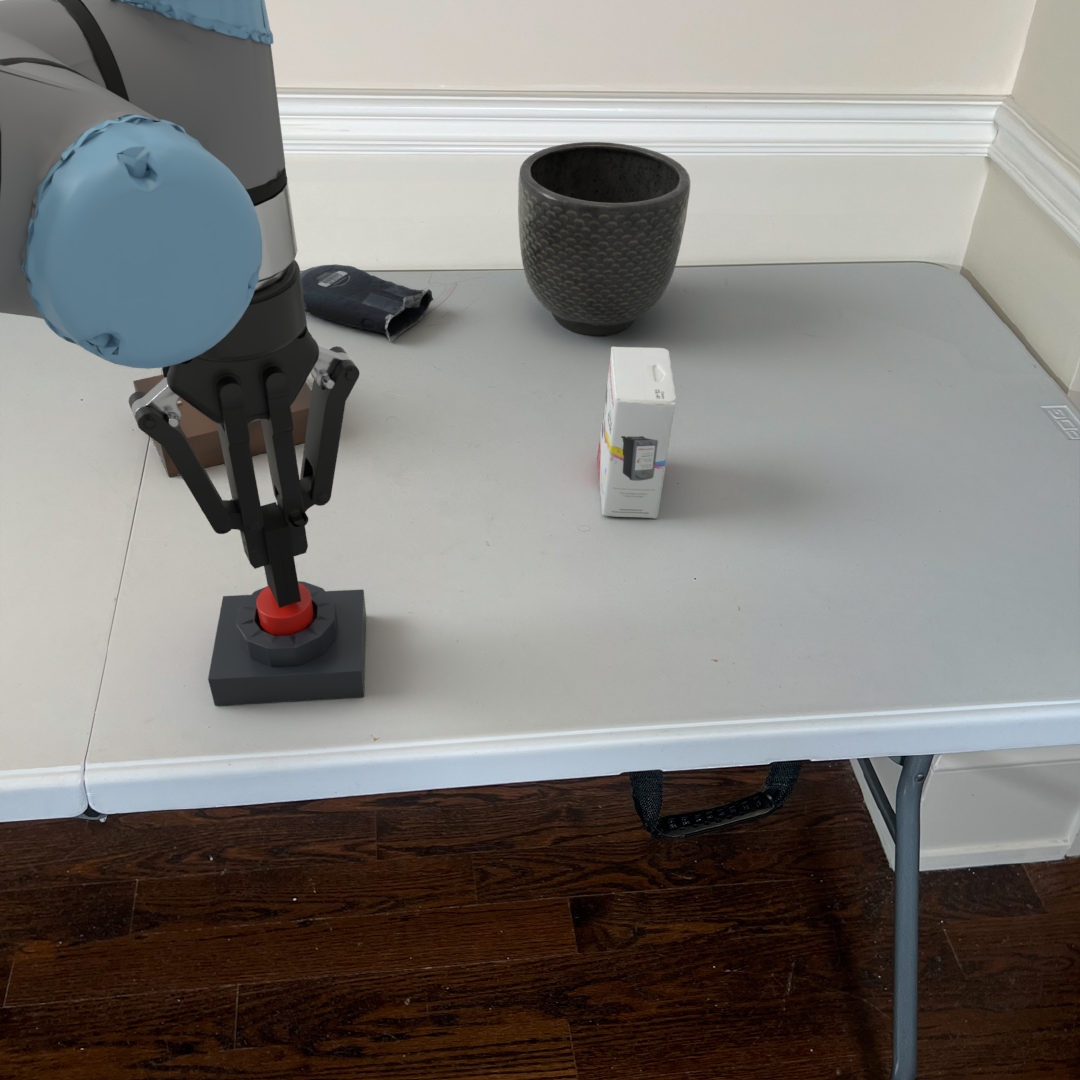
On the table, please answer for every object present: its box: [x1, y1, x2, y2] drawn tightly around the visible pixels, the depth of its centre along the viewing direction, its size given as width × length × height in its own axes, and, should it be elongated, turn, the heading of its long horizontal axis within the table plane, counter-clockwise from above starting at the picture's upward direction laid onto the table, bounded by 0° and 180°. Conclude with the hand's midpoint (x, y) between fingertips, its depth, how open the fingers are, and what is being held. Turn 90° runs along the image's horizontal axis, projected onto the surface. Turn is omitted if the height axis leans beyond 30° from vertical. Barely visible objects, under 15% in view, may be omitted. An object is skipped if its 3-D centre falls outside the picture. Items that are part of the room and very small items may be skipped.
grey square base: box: [207, 580, 367, 707], centre depth 72 cm, size 10×8×4 cm
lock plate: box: [132, 374, 312, 478], centre depth 94 cm, size 14×11×4 cm
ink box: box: [596, 345, 677, 519], centre depth 86 cm, size 9×5×12 cm, turn 0°
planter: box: [517, 141, 691, 336], centre depth 108 cm, size 17×17×16 cm
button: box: [256, 583, 314, 636], centre depth 70 cm, size 4×4×2 cm
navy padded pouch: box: [300, 263, 434, 343], centre depth 111 cm, size 9×6×15 cm
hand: (283, 591), depth 69 cm, fingers closed
